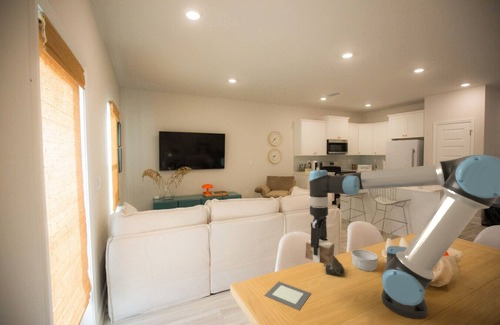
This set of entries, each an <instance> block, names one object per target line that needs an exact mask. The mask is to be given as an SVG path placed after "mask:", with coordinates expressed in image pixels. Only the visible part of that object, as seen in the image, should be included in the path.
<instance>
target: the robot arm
mask: <svg viewBox="0 0 500 325" xmlns="http://www.w3.org/2000/svg"><path fill="white" fill-rule="evenodd" d="M308 181H309V184H308V185H309V197H308V200H309V205H310V206H309V215H311V216H313V219H312V222H310V239H311V245H310V246H311V247H313V260H312V262H313V263H317V264H321V263H320V247H319V240H323V241H327V242H328V230H327V216H329V194H335V195H337V194H340V195H347V196H351V195H352V196H356V195H359V192H360V190H361V191H362V190H371V189H372V190H376V189H391V188H392V189H393V188H410V187H411V188H412V187H414V188H415V187H426V186H427V187H429V186H431V187H433V186H440V187H441V188H442V191H443V192H444V193H443V195H442V197H441V198H440V199H439V201H438V202H437V203H436V206H435V207H434V208H433V209H432V211H431V212H430V214H429V216H428V217H427V218H426V220H425V221H424V222H423V224H422V225H421V227H420V228H419V230H418V231H417V233H416V234H415V235H414V237H413V238H412V239H411V241H410V242H409V243H408V246H406V247H405V246H400V245H389V246H387V248H386V262H385V266H384V270H383V274H382V276H381V283H382V288H383V289H382V292H381V301H382V304H383V305H384V306H385V307H386V308H387V309H389V311H390V310H391V311H392V312H393V313H395V314H397V315H400V316H403V317H404V318H405V317H406V318H410V319H415V320H416V319H417V320H418V319H424V318H426V317H427V315H428V311H429V310H428V303H427V301H426V299H425V297H426V292H425V291H426V289H428V288H427V287H429V285H430V284H431V283H432V281H433V280H434V279H435V275H434V271H433V270H434V268H435V267H436V266H437V264H438V263H439V262H440V261H441V260H442V258H443V257H444V255H445V254H446V253H447V251H448V250H449V249H450V248H451V246H452V245H453V244H454V243H455V241H456V240H457V239H458V237H459V236H460V235H461V233H462V232H463V231H464V230H465V229H466V227H467V226H468V225H469V223H470V221H471V220H472V219H473V218H474V217H475V215H476V214H477V213H478V211H479V210H483V209H489V208H490V207H492V205H493V204H494V203H495V202H496V201H497V199H498V198H499V197H500V157H496V156H492V155H489V154H476V155H474V154H473V155H467V156H466V155H465V156H462V157H458V158H455V159H449V160H442V161H438V162H436V164H431V165H430V164H429V165H421V166H412V167H411V166H410V167H402V168H401V167H400V168H391V169H390V168H389V169H381V170H379V169H378V170H370V171H362V172H349V173H345V174H342V175H340V174H339V175H336V174H335V175H334V174H333V175H331V174H329V173H328V170H326V169H315V170H314V169H312V170H311V171H310V172H309V180H308Z"/></svg>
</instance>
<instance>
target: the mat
mask: <svg viewBox="0 0 500 325" xmlns="http://www.w3.org/2000/svg"><path fill="white" fill-rule="evenodd" d="M311 294H312V293H311V292H310V291H306V290H304V289H301V288H299V287H295V286H292V285H290V284H287V283H284V282H282V281H277V283H275V284H274V285H273V286H272V287H271V288H270V289H269V290H268V291H267V292H266V293H265V294H264V295H263V296H265V297H266V298H269V299H272V300H273V301H276V302H277V303H281V304H283V305H286V306H288V307H289V308H292V309H295V310H297V311H300V310H301V308H302V307H303V306H304V305H305V303H306V302H307V300H308V299H309V297H310V296H311Z"/></svg>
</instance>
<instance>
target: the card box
mask: <svg viewBox="0 0 500 325" xmlns="http://www.w3.org/2000/svg"><path fill="white" fill-rule="evenodd" d="M310 245H311V238H309V240H308V241H307V242H306V243H305V259H308V260H311V261H313V247H311V246H310ZM319 247H320V263H319V264H323V265H324V264H326V265H330V263H331V262H332V260H333V258H334V254H335V243H333V242H331V241H328V240H327V241H323V240H319Z"/></svg>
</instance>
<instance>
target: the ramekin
mask: <svg viewBox="0 0 500 325" xmlns="http://www.w3.org/2000/svg"><path fill="white" fill-rule="evenodd" d="M350 255H351V262H352V266H354V267H355V268H356V269H358V270H360V271H364V272H374V271H375V270H376V269H377V266H378V261H379V256H378V254H376V253H375V252H373V251H369V250H367V249H363V248H362V249H359V248H357V249H356V248H355V249H352V250H351V252H350Z"/></svg>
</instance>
